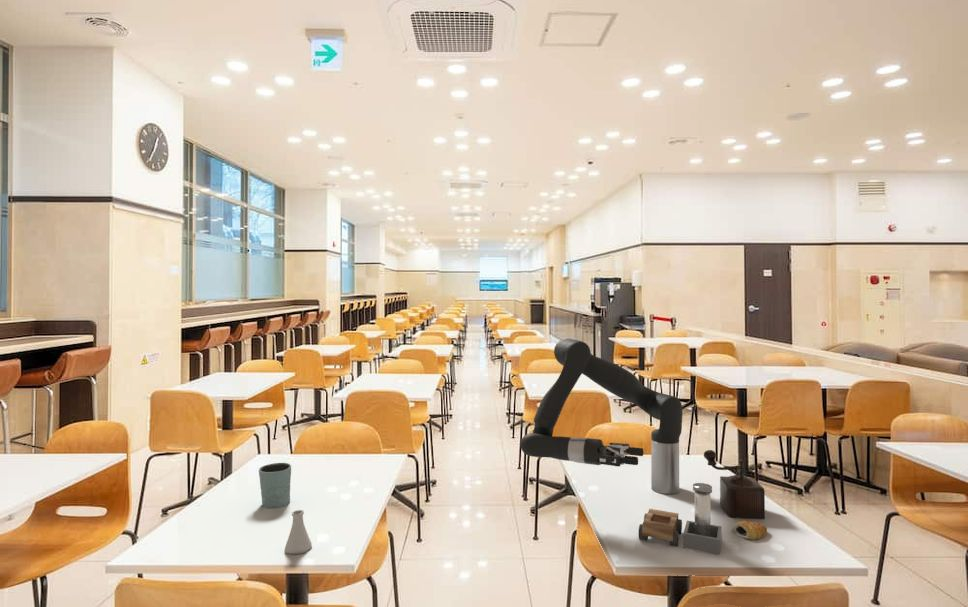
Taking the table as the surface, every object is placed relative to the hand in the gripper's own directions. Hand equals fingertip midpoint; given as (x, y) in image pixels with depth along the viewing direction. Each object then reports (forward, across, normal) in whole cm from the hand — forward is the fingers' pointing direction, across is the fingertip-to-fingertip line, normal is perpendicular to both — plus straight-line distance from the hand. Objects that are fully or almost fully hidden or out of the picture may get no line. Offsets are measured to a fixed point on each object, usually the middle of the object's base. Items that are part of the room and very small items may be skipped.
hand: (640, 456), depth 153 cm
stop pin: (+16, -2, +21) cm, 26 cm away
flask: (-82, -51, +19) cm, 99 cm away
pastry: (+28, +10, +23) cm, 37 cm away
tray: (+16, -2, +22) cm, 27 cm away
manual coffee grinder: (+23, +26, +23) cm, 41 cm away
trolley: (+5, -1, +21) cm, 22 cm away
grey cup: (-113, -31, +19) cm, 119 cm away
